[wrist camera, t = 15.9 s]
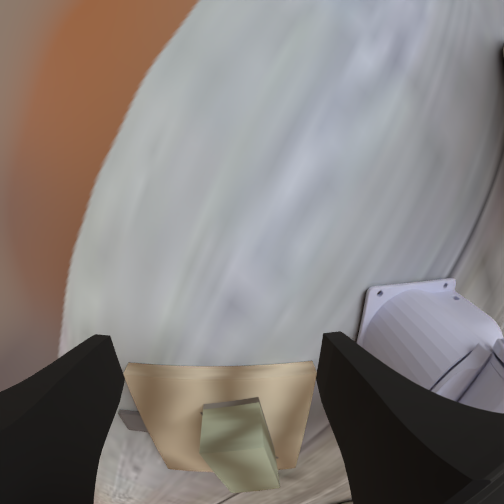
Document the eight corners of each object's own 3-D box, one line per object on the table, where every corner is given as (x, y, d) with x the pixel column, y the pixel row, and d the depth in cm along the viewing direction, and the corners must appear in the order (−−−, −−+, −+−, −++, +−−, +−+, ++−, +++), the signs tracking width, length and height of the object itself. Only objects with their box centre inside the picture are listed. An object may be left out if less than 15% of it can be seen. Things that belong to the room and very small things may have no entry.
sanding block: (258, 396, 19) (264, 447, 14) (274, 448, 22) (280, 487, 17) (203, 404, 19) (199, 453, 15) (230, 453, 22) (231, 492, 17)
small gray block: (146, 408, 22) (144, 415, 21) (155, 425, 23) (153, 432, 22) (120, 406, 22) (118, 413, 21) (130, 423, 23) (128, 429, 22)
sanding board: (312, 360, 20) (316, 372, 19) (293, 458, 25) (295, 467, 24) (128, 362, 19) (123, 374, 18) (170, 459, 25) (168, 468, 23)
